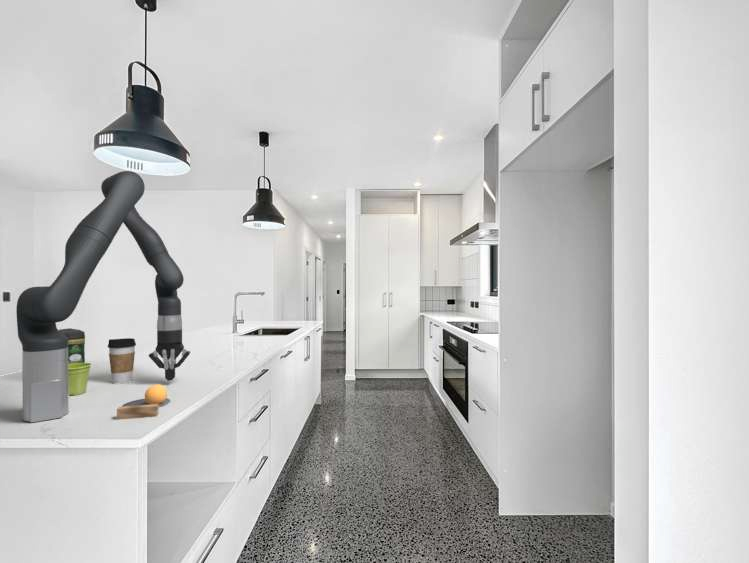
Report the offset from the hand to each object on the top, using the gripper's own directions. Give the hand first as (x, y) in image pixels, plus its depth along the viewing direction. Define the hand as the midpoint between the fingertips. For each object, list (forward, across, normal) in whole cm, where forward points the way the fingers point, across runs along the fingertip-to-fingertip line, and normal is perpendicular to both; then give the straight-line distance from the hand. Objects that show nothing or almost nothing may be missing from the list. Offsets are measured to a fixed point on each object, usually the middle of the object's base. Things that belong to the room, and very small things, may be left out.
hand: (170, 380), depth 139 cm
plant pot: (+2, +27, +4) cm, 27 cm away
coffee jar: (+2, +35, -14) cm, 38 cm away
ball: (-1, -2, +24) cm, 24 cm away
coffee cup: (+2, +17, -9) cm, 20 cm away
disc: (+2, +1, +23) cm, 23 cm away
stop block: (+2, 0, +34) cm, 35 cm away
